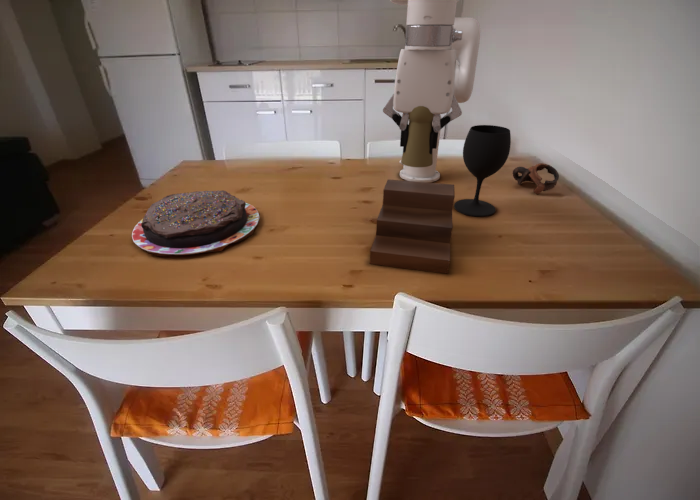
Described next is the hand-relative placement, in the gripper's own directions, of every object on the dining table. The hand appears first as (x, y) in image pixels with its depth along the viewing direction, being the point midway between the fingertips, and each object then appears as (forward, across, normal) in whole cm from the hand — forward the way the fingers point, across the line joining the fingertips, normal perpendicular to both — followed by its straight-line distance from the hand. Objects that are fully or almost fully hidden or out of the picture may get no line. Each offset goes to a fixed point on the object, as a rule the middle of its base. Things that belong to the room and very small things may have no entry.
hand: (417, 150), depth 67 cm
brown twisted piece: (+20, -32, -40) cm, 55 cm away
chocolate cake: (+20, +49, +5) cm, 53 cm away
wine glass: (+20, -15, -21) cm, 33 cm away
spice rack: (+20, -1, 0) cm, 20 cm away
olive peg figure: (+2, 0, 0) cm, 2 cm away
